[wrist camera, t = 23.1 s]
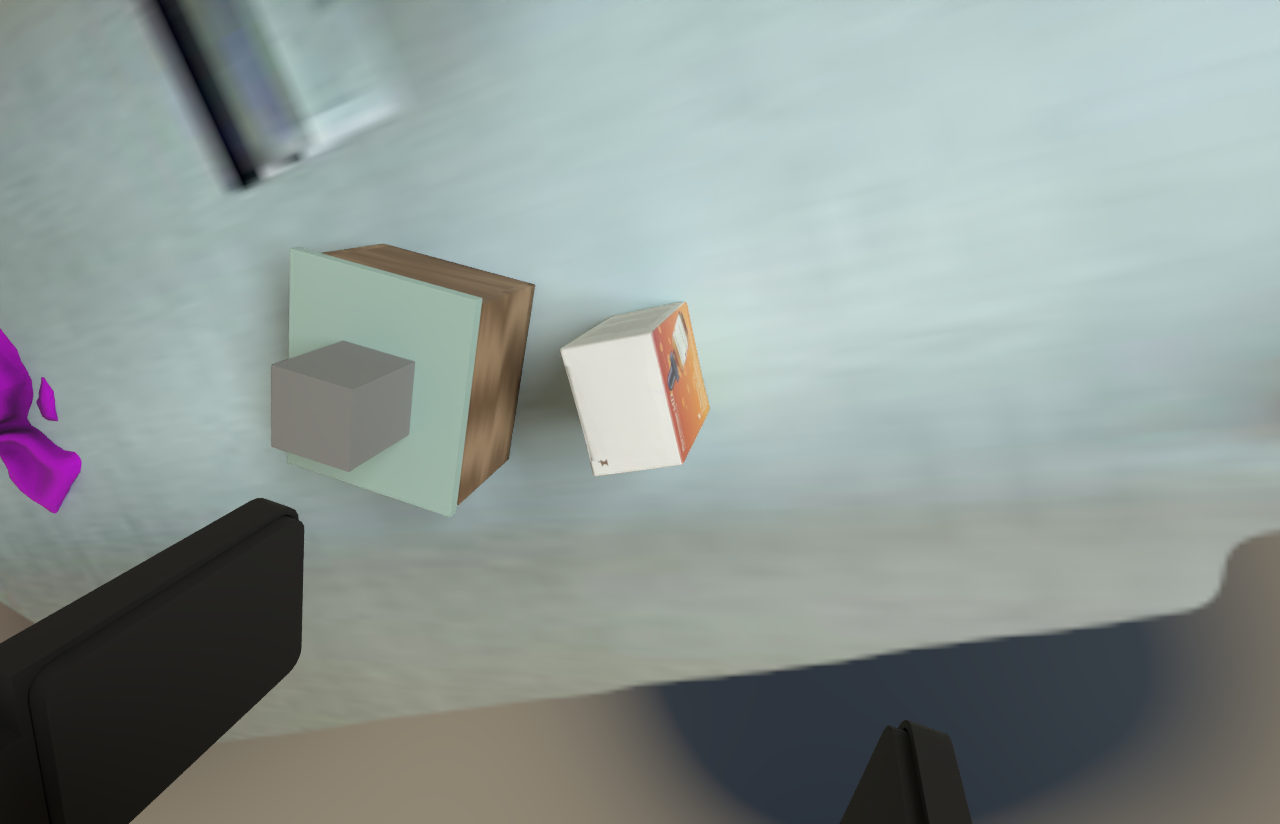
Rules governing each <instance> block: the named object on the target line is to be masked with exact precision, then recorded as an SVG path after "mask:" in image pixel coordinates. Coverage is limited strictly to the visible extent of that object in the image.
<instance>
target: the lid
mask: <svg viewBox="0 0 1280 824" xmlns="http://www.w3.org/2000/svg"><path fill="white" fill-rule="evenodd" d="M481 306H482V298H480V297H477V296H473V295H469V294H466V293H462V292H459V291H455V290H451V289H448V288H444V287H441V286H437V285H433V284H430V283H426V282H423V281H419V280H415V279H412V278H408V277H405V276H401V275H397V274H394V273H390V272H387V271H383V270H379V269H376V268H372V267H369V266H365V265H362V264H358V263H354V262H351V261H347V260H344V259H340V258H336V257H333V256H329V255H326V254H322V253H318V252H315V251H311V250H308V249H304V248H300V247H298V248H290V294H289V359H290V358H293V357H296V356H299V355H302V354H305V353H308V352H311V351H314V350H317V349H320V348H323V347H326V346H329V345H331V344H334V343H337V342H340V341H343V340H344V341H347V342H351V343H354V344H357V345H361V346H364V347H368V348H371V349H374V350H378V351H381V352H384V353H388V354H391V355H395V356H398V357H401V358H405V359H408V360H412V361H415V372H414V384H413V395H412V407H411V419H410V431H409V435H408V436H406V437H404V438H403V439H401V440H400V441H398V442H396V443H395V444H393V445H392V446H390V447H388V448H387V449H385V450H384V451H382V452H380V453H379V454H377V455H376V456H374V457H372V458H371V459H369V460H368V461H366V462H364V463H363V464H361V465H360V466H358V467H356V468H355V469H353V470H352V471H350V472H347V471H344V470H341V469H338V468H335V467H331V466H328V465H325V464H322V463H319V462H316V461H313V460H310V459H307V458H304V457H301V456H298V455H295V454H292V453H289V452H288V456H287V463H290V464H293V465H296V466H299V467H302V468H305V469H308V470H311V471H314V472H317V473H320V474H323V475H326V476H329V477H332V478H335V479H338V480H341V481H344V482H347V483H350V484H353V485H356V486H359V487H362V488H365V489H368V490H371V491H374V492H377V493H380V494H383V495H386V496H388V497H391V498H394V499H397V500H400V501H403V502H406V503H409V504H412V505H415V506H418V507H421V508H424V509H427V510H430V511H433V512H436V513H439V514H442V515H445V516H448V517H451V516H452V515H453V514H454V513H455V512H456V509H457V500H458V492H459V484H460V476H461V468H462V460H463V452H464V444H465V436H466V428H467V420H468V411H469V403H470V395H471V387H472V379H473V371H474V363H475V355H476V347H477V339H478V331H479V322H480V314H481Z"/></svg>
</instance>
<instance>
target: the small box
mask: <svg viewBox="0 0 1280 824" xmlns="http://www.w3.org/2000/svg"><path fill="white" fill-rule="evenodd" d="M560 354H561V357H562V360H563V363H564V366H565V369H566V372H567V375H568V379H569V382H570V386H571V390H572V393H573V397H574V400H575V404H576V408H577V411H578V415H579V419H580V422H581V426H582V430H583V433H584V437H585V441H586V445H587V449H588V453H589V457H590V463H591V467H592V472H593V475H594V476H601V475H608V474H616V473H623V472H631V471H639V470H646V469H654V468H662V467H669V466H675V465H682V464H683V463H684V461H685V459H686V457H687V455H688V453H689V451H690V449H691V447H692V445H693V443H694V441H695V439H696V437H697V435H698V433H699V431H700V429H701V427H702V425H703V423H704V421H705V419H706V417H707V414H708V412H709V410H710V406H709V402H708V398H707V394H706V391H705V387H704V382H703V378H702V374H701V369H700V364H699V359H698V354H697V349H696V344H695V340H694V335H693V331H692V326H691V321H690V316H689V312H688V307H687V303H686V302H678V303H673V304H667V305H662V306H657V307H653V308H648V309H643V310H638V311H633V312H628V313H623V314H619V315H614V316H611V317H610V318H608V319H607V320H605V321H603V322H602V323H600V324H598V325H597V326H595V327H594V328H592V329H590V330H589V331H587V332H586V333H584V334H582V335H581V336H579V337H578V338H576V339H575V340H573V341H571V342H570V343H568V344H567V345H565V346H563V347H562V348H561V349H560Z"/></svg>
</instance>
